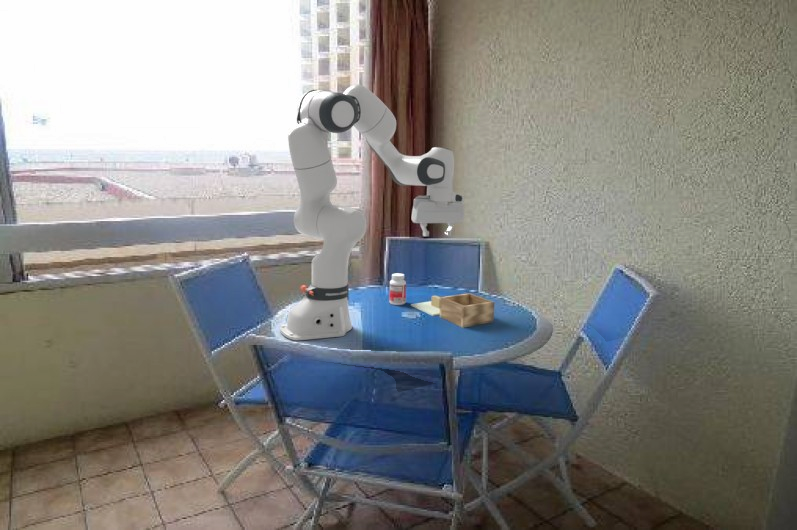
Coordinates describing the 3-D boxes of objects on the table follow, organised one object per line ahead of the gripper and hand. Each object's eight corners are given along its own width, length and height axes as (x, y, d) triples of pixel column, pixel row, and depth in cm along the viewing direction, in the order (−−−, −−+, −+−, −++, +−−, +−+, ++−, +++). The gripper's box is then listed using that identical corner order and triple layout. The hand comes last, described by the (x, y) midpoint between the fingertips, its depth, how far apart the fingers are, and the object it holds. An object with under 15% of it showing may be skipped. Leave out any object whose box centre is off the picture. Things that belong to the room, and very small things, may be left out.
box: (462, 327, 166) (463, 306, 165) (439, 316, 177) (440, 297, 175) (493, 322, 173) (494, 302, 171) (469, 311, 183) (470, 293, 182)
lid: (432, 317, 178) (432, 304, 177) (410, 307, 190) (411, 295, 189) (464, 312, 185) (464, 299, 184) (441, 302, 197) (441, 290, 196)
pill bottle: (398, 300, 196) (399, 272, 194) (408, 303, 192) (409, 275, 190) (385, 302, 193) (386, 274, 190) (396, 306, 188) (396, 277, 186)
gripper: (419, 195, 168) (417, 237, 170) (468, 197, 178) (465, 236, 181) (409, 194, 173) (406, 235, 175) (457, 196, 183) (454, 234, 186)
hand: (436, 235), depth 178 cm, fingers open, 8 cm apart
